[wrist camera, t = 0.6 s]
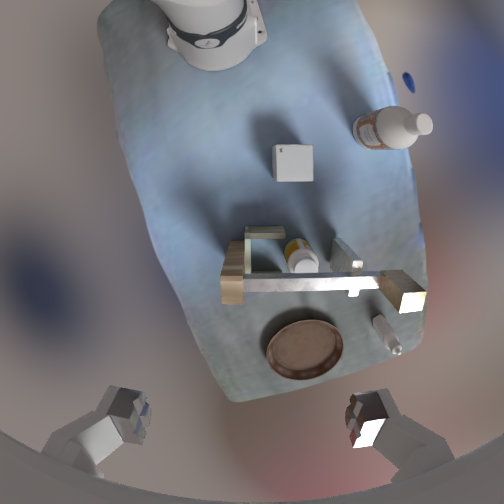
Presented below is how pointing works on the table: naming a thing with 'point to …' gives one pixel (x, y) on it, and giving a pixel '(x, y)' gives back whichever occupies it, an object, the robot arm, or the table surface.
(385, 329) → the eye dropper bottle
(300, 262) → the supplement bottle
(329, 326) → the plant saucer
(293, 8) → the table surface
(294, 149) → the product box
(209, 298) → the table surface
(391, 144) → the bath foam
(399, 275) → the rod with square block
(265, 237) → the frame
